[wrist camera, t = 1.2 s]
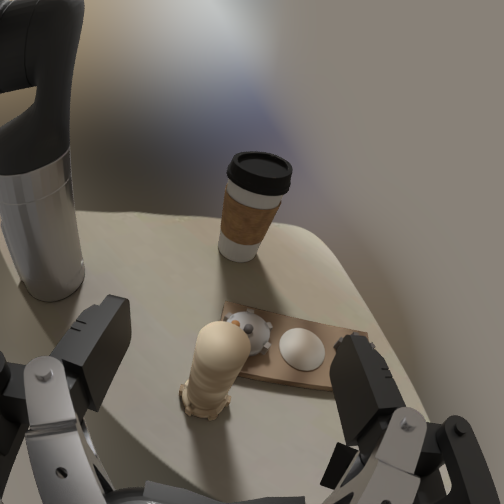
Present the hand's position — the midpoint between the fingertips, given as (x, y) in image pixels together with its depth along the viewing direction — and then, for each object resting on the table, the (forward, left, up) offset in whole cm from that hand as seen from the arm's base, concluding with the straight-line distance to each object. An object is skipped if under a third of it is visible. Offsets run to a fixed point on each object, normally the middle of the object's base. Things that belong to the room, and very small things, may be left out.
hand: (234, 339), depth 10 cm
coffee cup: (0, +28, -20) cm, 35 cm away
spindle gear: (0, +4, -20) cm, 20 cm away
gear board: (+10, +12, -20) cm, 25 cm away
